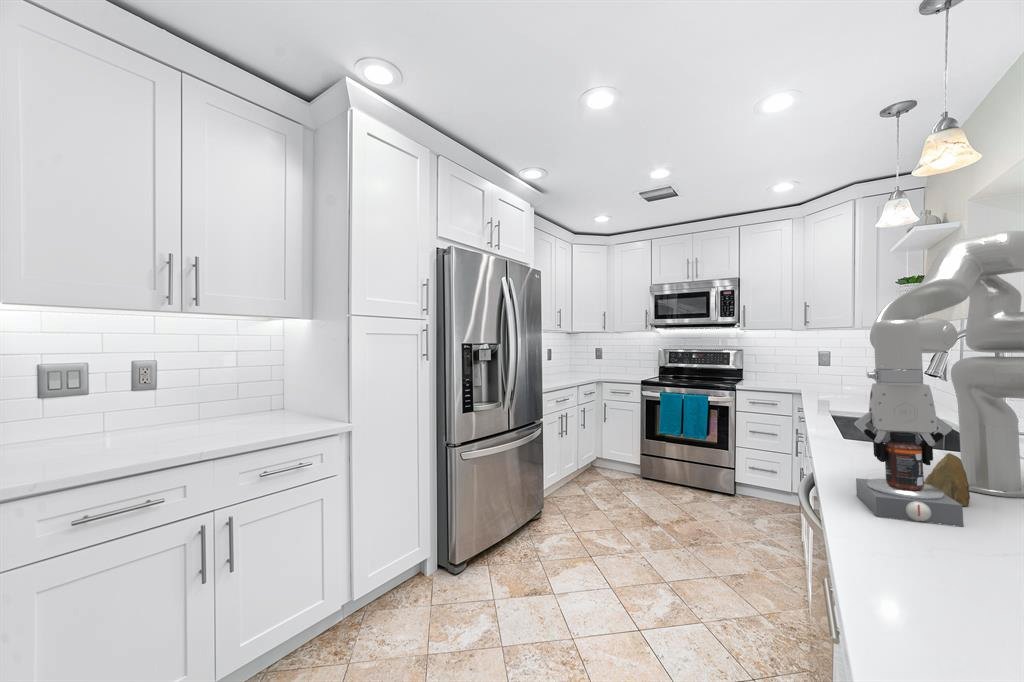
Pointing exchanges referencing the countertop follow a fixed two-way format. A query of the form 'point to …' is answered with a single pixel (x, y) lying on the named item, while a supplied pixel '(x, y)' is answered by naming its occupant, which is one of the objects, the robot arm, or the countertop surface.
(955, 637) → the countertop surface
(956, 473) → the rock
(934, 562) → the countertop surface
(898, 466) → the supplement bottle
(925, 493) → the scale pan
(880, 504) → the scale base
